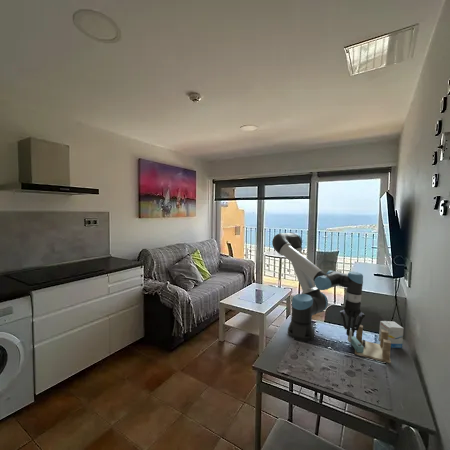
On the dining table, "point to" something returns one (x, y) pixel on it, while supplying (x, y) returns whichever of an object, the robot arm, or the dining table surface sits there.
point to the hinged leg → (357, 344)
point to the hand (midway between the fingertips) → (349, 341)
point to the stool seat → (375, 346)
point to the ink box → (392, 333)
